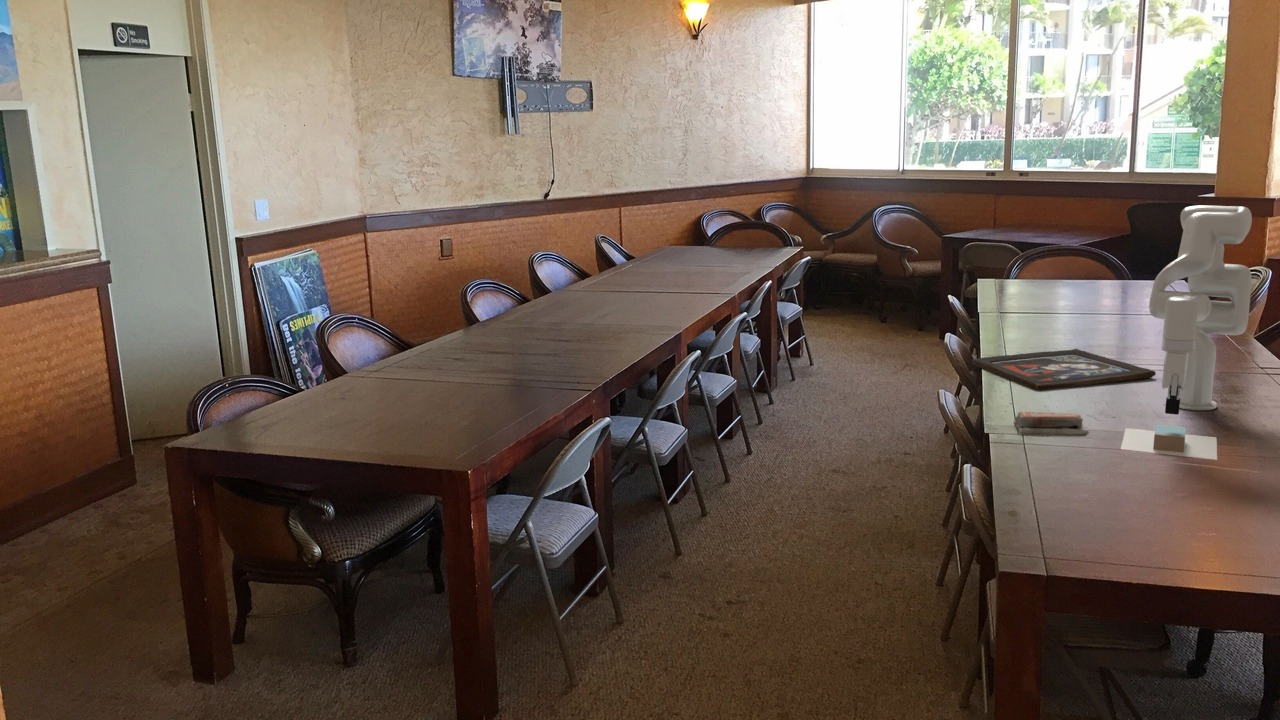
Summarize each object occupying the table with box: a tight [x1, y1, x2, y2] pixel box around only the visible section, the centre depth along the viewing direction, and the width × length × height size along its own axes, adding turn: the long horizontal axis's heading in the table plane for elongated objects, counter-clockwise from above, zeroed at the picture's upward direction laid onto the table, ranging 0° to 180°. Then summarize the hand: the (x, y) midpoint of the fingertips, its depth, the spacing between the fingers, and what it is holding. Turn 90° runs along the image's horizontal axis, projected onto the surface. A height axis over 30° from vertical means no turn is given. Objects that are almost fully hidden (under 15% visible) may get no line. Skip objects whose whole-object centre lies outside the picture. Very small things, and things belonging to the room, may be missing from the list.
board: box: [1120, 427, 1218, 461], centre depth 270 cm, size 20×22×1 cm
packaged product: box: [1013, 411, 1090, 435], centre depth 287 cm, size 18×5×10 cm
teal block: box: [1153, 423, 1187, 453], centre depth 268 cm, size 4×7×10 cm
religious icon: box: [971, 348, 1156, 391], centre depth 349 cm, size 40×45×3 cm
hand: (1171, 413), depth 268 cm, fingers closed
